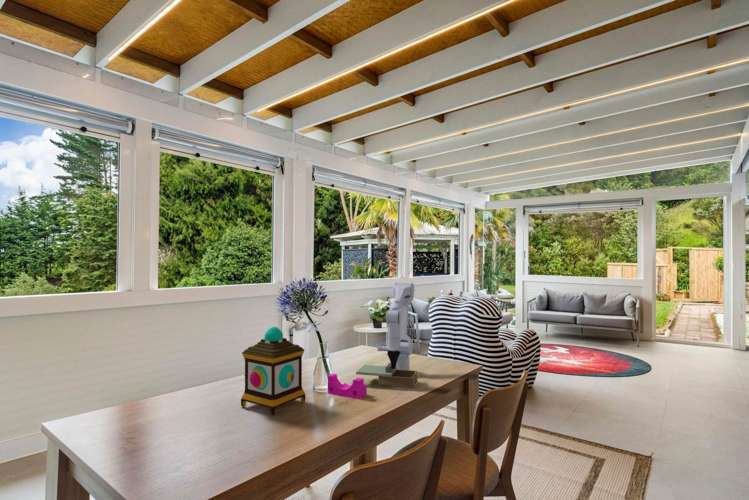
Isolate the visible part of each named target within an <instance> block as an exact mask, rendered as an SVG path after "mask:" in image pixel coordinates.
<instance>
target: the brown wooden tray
mask: <svg viewBox="0 0 749 500" xmlns="http://www.w3.org/2000/svg"><path fill="white" fill-rule="evenodd" d="M416 383H418V371H417V370H411V369H410V370H396V371H395V372H394V374H393V375H392V376H391V377H386V376H378V388H380V389H381V388H383V389H391V390H392V389H395V390H404V389H408V391H413V390H414V389H415V388H416V386H415V385H417V384H416Z"/></svg>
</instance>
